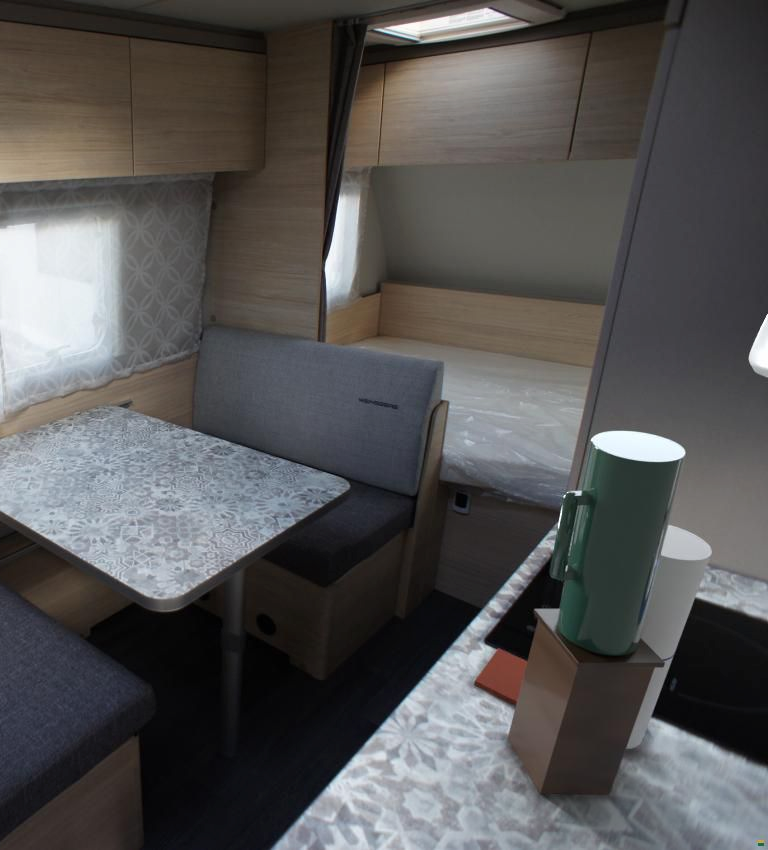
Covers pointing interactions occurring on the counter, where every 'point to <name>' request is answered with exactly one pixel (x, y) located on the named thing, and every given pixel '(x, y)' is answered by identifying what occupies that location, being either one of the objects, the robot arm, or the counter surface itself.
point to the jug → (615, 539)
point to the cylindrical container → (669, 610)
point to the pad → (503, 676)
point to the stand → (577, 711)
